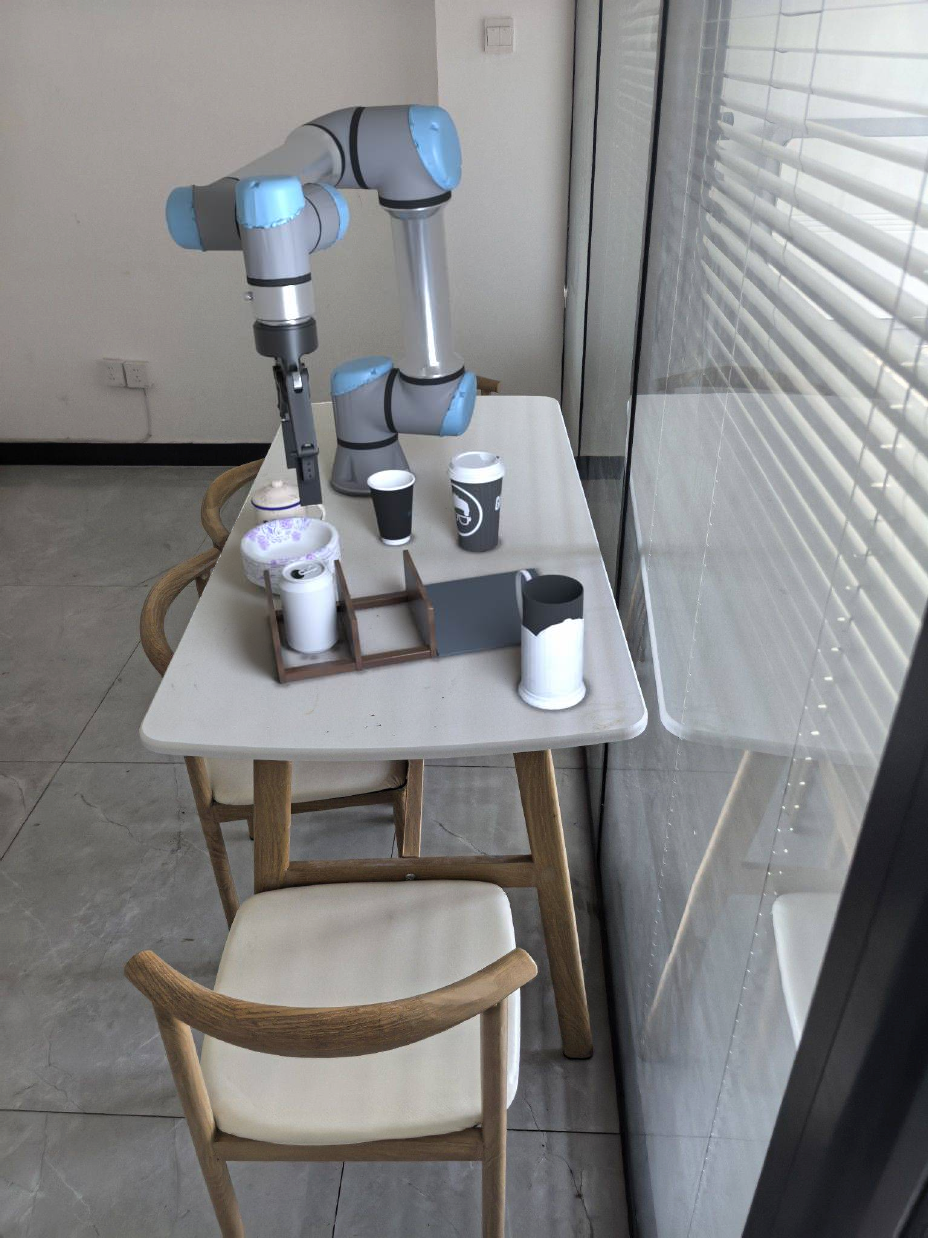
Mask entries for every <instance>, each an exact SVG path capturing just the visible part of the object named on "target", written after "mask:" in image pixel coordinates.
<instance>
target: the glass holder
mask: <svg viewBox="0 0 928 1238" xmlns="http://www.w3.org/2000/svg"><path fill="white" fill-rule="evenodd" d="M517 571H518V572H517V574H516V596H517V603H518V608H519V613H520V617H521V620H522V622H521V644H520V646H521V649H520V650H521V651H520V652H521V653H520V654H521V657H520V658H521V680H520V682H519V684H518V687H517V688H518V689H517V691H518V694H519V695H518V696H520V698H521V699H522V700H523V701H524V702H525V703H527V704H528V705H530V706H533V707H535V708H538V709H542V710H550V711H551V710H552V711H553V710H563V709H567V708H571V707H573V706H575V705H577V704H578V703H580V702H581V701H582V700H583V699H584V697H585V695H586V691H587V689H586V685H585V683H584V680H583V679H584V678H583V677H584V675H583V674H584V672H583V671H584V645H585V642H584V641H585V617H584V600H585V599H584V598H585V597H584V596H585V594H584V593H585V589H584V585H583V584H582V583H581V581H579V580H577V579H575V578H574V577H571V576H567V575H562V574H554V573H553V574H542V575H539V576H538V577H534V578H531V576H530V574H529V573H528V572H527V571H526V569H520V570H517ZM522 574H523V575H524V576H525V578H526V580H527V582H526V583H525V584H524V585H523V588H522V594H521V575H522Z"/></svg>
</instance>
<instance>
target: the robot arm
mask: <svg viewBox="0 0 928 1238" xmlns="http://www.w3.org/2000/svg"><path fill="white" fill-rule="evenodd" d="M462 164H463V157H462V148H461V142H460V138H459V134H458V130H457V127H456V125H455V122H454V120H453V118H452V117H451V115H450V113H449V112H448V111H447V110H446V109H445V108H443V107H441V106H439V105H426V104H420V103H414V104H413V103H412V104H394V105H392V104H391V105H372V106H361V105H360V106H358V105H357V106H349V107H344V108H341V109H336V110H333V111H330V112H329V113H325V114H323V115H321V116H319V117H316V118H313V119H312V120H309V121H308V122H305V123H304V124H301V125H300V126H298V127H296V128H294V129H293V130H292V131H291V132H289V134H288V135H287V136H286V137H285V140H284V142H283V144H281V145H279V146H278V147H276V148H274V149H272V150H270V151H269V152H266V153H265V154H263V155H261V156H259V157H257V158H256V159H254V160H252V161H250V162H249V163H247V164H245V165H243V166H241V167H239V168H237V169H236V170H234V171H232V172H230V173H227V175H225V176H223V177H222V178H219V179H218V180H215V181H213V182H211V183H210V184H206V185H196V184H191V185H187V186H178V187H175V188H174V189H172V190H171V191H170V193H169V195H168V196H167V200H166V203H165V211H164V213H165V221H166V224H167V230H168V233H169V235H170V237H171V238H172V240H173V241H174V243H175V244H176V245H178V246H179V247H180V248H182V249H185V250H193V251H194V250H197V251H202V252H204V253H205V252H208V251H209V252H211V251H212V252H213V251H214V252H218V251H219V252H220V251H221V252H225V251H226V252H228V251H229V252H242V254H243V255H242V256H243V261H244V267H245V268H244V269H245V274H246V275H245V277H246V283H247V288H248V290H249V291H245V292H243V299H244V301H250V302H249V306H250V312H251V317H252V318H253V319H255V321H254V322H253V324H252V330H253V331H252V332H253V337H254V344H255V351H256V352H257V354H258V355H259V356H262V357H266V358H272V359H273V361H274V365H272V375H273V379H274V384H275V389H276V396H277V404H276V405H277V409H278V411H279V418H280V419H281V421H280V424H281V431H282V439H283V447H284V454H285V463H286V469H287V470H290V469H291V470H293V469H295V473H296V484H297V486H298V491H299V499H300V505H301V507H302V506H310V505H317V504H323V493H322V485H321V477H320V469H319V458H318V456H319V454H320V447H319V446H318V440H317V434H316V428H315V422H314V420H315V419H314V415H313V409H312V408H313V407H312V403H311V391H310V385H309V381H310V380H309V379H310V375H309V369H308V367H306V363H305V362H302V361H301V358H302V357H303V356H305V355H310V354H312V353H314V352H316V351H317V349H318V348H319V337H318V328H317V327H318V326H317V320H316V319H315V318H314V317H313V315H314V314H315V313H316V305H315V304H316V303H315V293H314V284H313V278H312V272H311V261H310V255H312V254H314V253H317V252H320V251H325V250H327V249H328V248H331V247H332V246H334V245H335V244H336V243H338V242H339V241H340V240H341V239H342V238H343V237H344V236H345V234H346V232H347V230H348V227H349V223H350V211H349V207H348V206H349V205H348V204H347V201H346V199H345V197H344V196H343V194H342V193H341V192H340V191H339V190H366V191H367V190H371V191H372V190H373V191H374V190H376V192H377V199H378V204H379V207H380V208H382V209H383V210H384V211H385V212H387V214H388V215H389V218H390V227H391V236H392V244H393V254H394V262H395V272H396V280H397V289H398V298H399V305H400V306H399V307H400V316H401V324H402V333H403V341H404V351H405V355H404V357H403V358H402V359H401V360H400V361H399V363H398V367H394V366H395V363H394V361H393V359H392V358H391V357H389V356H385V355H374V356H366V357H359V358H356V359H352V360H349V361H346V362H344V363H341V364H339V365H337V367H335V368H333V370H332V372H331V374H330V393H329V395H330V398H331V404H332V412H333V419H334V420H333V421H334V429H335V437H336V450H335V455H334V459H333V464H332V468H331V474H330V475H331V477H330V479H331V480H330V481H331V486H332V487H333V489H334V490H335V491H337V492H339V493H340V494H343V495H347V496H352V497H362V498H364V497H366V498H368V497H369V498H370V497H372V496H371V491H370V486H369V485H368V483H367V480H368V478H369V477H370V476H371V475H373V474H375V473H378V472H381V471H387V470H402V471H407V472H409V473H411V474H412V471H411V467H410V464H409V462H408V460H407V458H406V454H405V452H404V450H403V448H402V445H401V443H400V439H399V434H403V435H404V434H405V435H416V436H417V435H419V436H433V437H439V438H443V437H460V436H462V435H464V434H465V433H466V431H467V430H468V429H469V426H470V424H471V421H472V419H473V414H474V410H475V406H476V400H477V392H478V391H477V390H478V382H477V381H478V380H477V376H476V374H475V372H474V371H471V370H470V369H467V370H466V368H465V359H464V357H463V355H462V354H460V353H459V352H457V351H456V350H455V339H454V326H453V325H454V324H453V316H452V302H451V301H452V300H451V290H450V289H451V288H450V277H449V276H450V275H449V266H448V253H447V240H446V228H445V215H444V210H445V208H446V207H447V206H448V204H449V203H450V202H451V201H452V197H453V196H452V195H453V193H452V191H453V190H455V189H457V188H458V186H459V185H460V182H461V180H462V174H463V173H462V172H463V171H462ZM323 505H324V504H323Z"/></svg>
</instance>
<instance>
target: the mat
mask: <svg viewBox="0 0 928 1238" xmlns="http://www.w3.org/2000/svg"><path fill="white" fill-rule="evenodd" d="M525 570H526V571H527V572H528V573H529V574H530V576H531V578H534V577H538V576H540V574H539V573H538V572H537V570H536V569H535V568H533V567H532V568H528V569H527V568H526V569H525ZM518 571H519V570H514V571H508V572H501V573H494V574H493V573H492V574H487V575H481V576H474V577H467V578H461V579H455V580H448V581H441V582H436V583H428V584H423V585H424V588H425V590H426V592H427V594H428V597H429V599H430V601H431V604H432V606H433V608H434V623H435V639H436V655H437V657H438V658H443V657H451V656H455V655H461V654H467V653H474V652H480V651H487V650H491V649H499V648H504V647H509V646H515V645H521V622H522V620H521V617H520V613H519V608H518V603H517V596H516V574H517V572H518ZM526 582H527V580H526V578H525V576H524V575H523V574H522V575H521V594H522V588H523V585H524V584H525V583H526Z"/></svg>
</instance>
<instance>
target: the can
mask: <svg viewBox="0 0 928 1238" xmlns="http://www.w3.org/2000/svg"><path fill="white" fill-rule="evenodd" d="M281 574H282V575H281V577H280V578H279V580H278V585H279V592H280V595H279V598H280V603H281V610H282V611H283V617H284V621H283V624H284V629H285V635H286V642H287V645H288V646H289V648H291V649H294V650H295V651H296V652H298V653H302V654H306V655H314V654H320V653H324V652H326V651H328V650H330V649H331V648H332V647H333V646H334V645H335V644H336V643H337V642H338V641H339V639H340V636H341V632H340V624H339V617H338V615H339V614H338V613H337V607H336V601H337V599H336V592H335V590H336V589H335V584H334V576H333V574H332V573H331V572H330V571H329V570H327V566H326V565H325V564H324V563H323V562H321V561H318V560H313V559H304V560H298V561H294V562H292V563H290V564H288V565H286V566H285V567H284V568H283V569H282V571H281Z"/></svg>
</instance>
